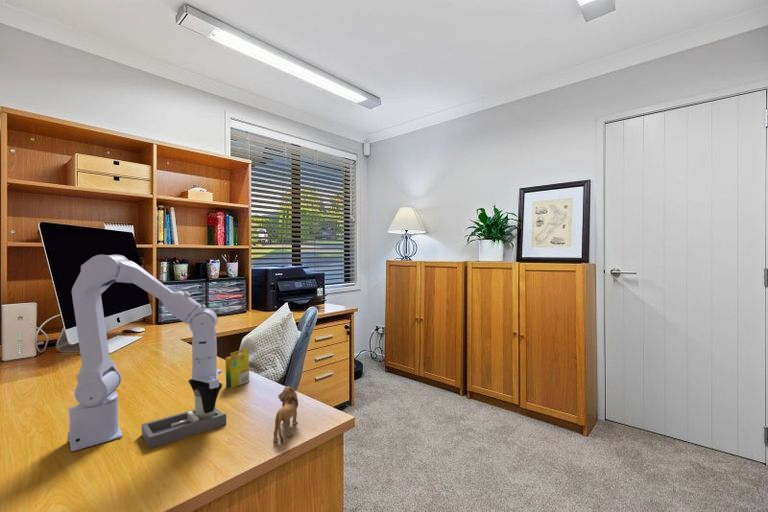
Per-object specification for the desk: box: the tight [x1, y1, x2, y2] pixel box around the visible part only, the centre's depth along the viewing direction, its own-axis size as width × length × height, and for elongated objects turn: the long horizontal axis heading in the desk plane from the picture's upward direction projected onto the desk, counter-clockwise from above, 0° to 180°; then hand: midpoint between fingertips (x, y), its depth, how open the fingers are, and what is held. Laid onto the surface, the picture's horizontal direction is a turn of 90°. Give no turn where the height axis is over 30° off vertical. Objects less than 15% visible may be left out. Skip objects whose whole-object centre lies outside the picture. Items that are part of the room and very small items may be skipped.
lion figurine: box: [272, 386, 299, 445], centre depth 91 cm, size 15×5×9 cm, turn 10°
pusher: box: [171, 410, 199, 428], centre depth 92 cm, size 6×6×2 cm
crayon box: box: [224, 347, 250, 389], centre depth 123 cm, size 7×3×12 cm, turn 149°
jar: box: [193, 388, 217, 420], centre depth 95 cm, size 5×5×8 cm
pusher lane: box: [141, 408, 227, 450], centre depth 92 cm, size 17×9×3 cm, turn 134°
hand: (205, 408), depth 95 cm, fingers open, 5 cm apart
